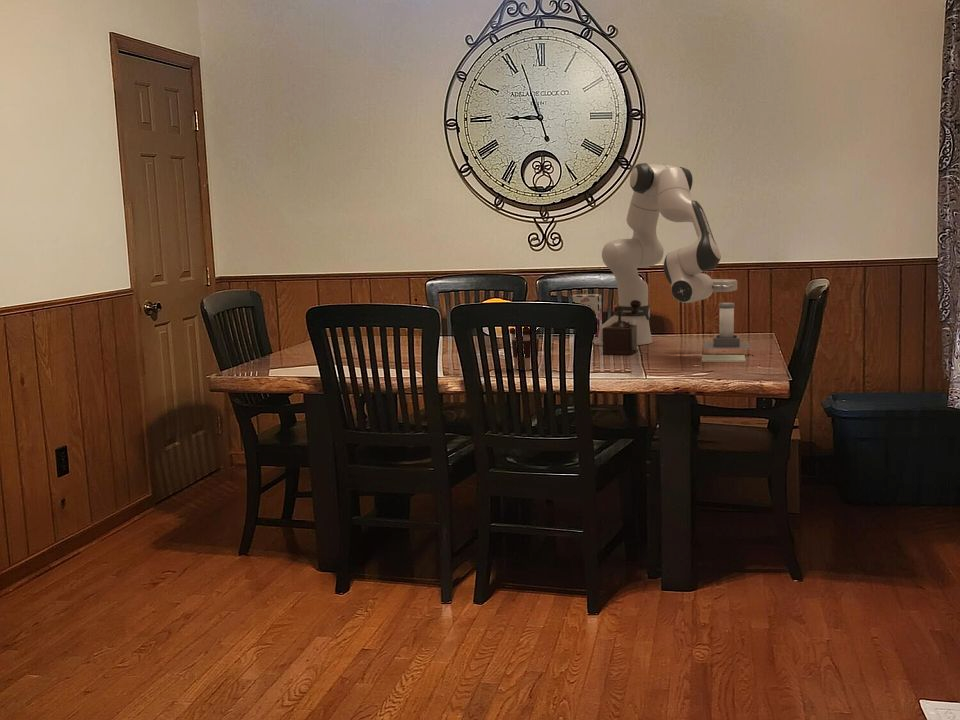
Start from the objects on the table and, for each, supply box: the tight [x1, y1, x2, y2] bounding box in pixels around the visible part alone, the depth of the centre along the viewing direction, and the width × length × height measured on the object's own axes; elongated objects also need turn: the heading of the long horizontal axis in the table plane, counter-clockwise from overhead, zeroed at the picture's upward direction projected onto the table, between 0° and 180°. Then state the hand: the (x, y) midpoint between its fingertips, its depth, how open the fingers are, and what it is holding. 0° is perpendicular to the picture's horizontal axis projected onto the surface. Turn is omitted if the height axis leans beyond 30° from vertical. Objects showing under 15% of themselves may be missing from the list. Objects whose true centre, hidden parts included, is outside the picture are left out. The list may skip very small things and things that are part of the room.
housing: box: [702, 334, 751, 350], centre depth 374 cm, size 16×16×4 cm
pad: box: [701, 353, 746, 363], centre depth 351 cm, size 14×14×1 cm
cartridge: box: [718, 301, 735, 338], centre depth 373 cm, size 5×5×15 cm
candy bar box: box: [571, 293, 603, 337], centre depth 417 cm, size 11×5×16 cm, turn 71°
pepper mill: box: [602, 300, 641, 356], centre depth 372 cm, size 16×11×18 cm
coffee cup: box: [509, 327, 541, 371], centre depth 342 cm, size 10×10×15 cm
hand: (714, 283), depth 361 cm, fingers open, 8 cm apart
